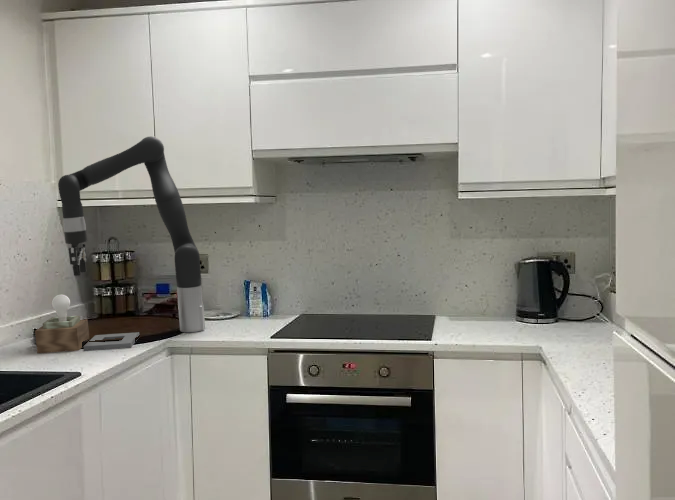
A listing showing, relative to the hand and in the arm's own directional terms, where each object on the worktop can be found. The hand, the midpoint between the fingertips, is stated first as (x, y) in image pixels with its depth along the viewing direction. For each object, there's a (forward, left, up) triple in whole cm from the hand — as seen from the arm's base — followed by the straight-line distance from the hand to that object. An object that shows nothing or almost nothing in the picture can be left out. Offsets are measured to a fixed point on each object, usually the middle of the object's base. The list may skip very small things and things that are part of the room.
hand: (80, 273), depth 239 cm
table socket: (-11, +7, -25) cm, 28 cm away
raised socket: (+6, +7, -25) cm, 27 cm away
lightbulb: (+6, +6, -17) cm, 19 cm away
